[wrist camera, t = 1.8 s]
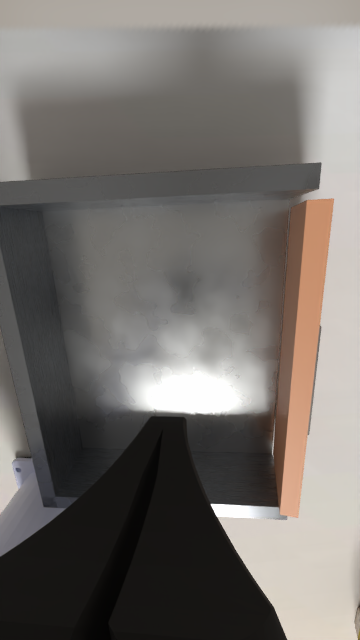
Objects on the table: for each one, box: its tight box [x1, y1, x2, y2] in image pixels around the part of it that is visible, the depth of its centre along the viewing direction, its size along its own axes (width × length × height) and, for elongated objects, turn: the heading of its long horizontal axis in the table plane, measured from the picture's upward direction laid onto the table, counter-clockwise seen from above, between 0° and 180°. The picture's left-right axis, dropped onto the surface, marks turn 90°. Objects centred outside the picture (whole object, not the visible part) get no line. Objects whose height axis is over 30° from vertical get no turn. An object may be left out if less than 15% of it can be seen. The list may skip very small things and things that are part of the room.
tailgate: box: [273, 199, 334, 518], centre depth 16 cm, size 17×1×5 cm, turn 2°
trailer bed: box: [0, 163, 321, 520], centre depth 18 cm, size 20×16×6 cm
